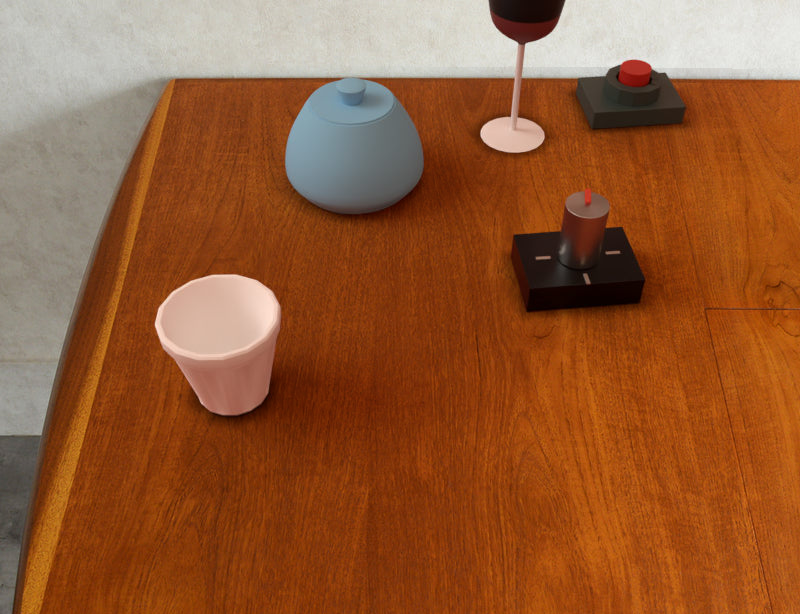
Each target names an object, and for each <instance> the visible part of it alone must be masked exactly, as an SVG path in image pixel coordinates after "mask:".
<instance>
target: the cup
mask: <svg viewBox="0 0 800 614" xmlns="http://www.w3.org/2000/svg"><path fill="white" fill-rule="evenodd" d="M155 317H156V318H155V322H154V327H155V330H156V333H157V336H158V338H159V341H160V344H161V347H162V349H163V350H164V351H165V353H167V355H169V356H170V357H171V358H172V359H173V360H174V361H175V363H176V364H177V366H178V367H179V369H180V371H181V372H182V374H183V375H184V377H185V378H186V380H187V382H188V383H189V385H190V386H191V388H192V390H193V391H194V392H195V393H194V394H196V396H197V398H198V400H199V402H200V404H201V405H202V406H203V407H204V408H205V409H207V410H208V411H209V412H210V413H212V414H216V415H219V416H222V417H238V416H242V415H244V414H245V415H246V414H249V413H251V412H252V411H254V410H255V409H257V408H258V407H259V406H261V405H262V404H263V402H264V401H265V399H266V397H267V396H268V394H269V391H270V383H271V378H272V372H273V371H272V370H273V363H274V357H275V350H276V345H277V339H278V335H279V333H280V331H281V321H282V307H281V304H280V302H279V301H278V299H277V297H276V295H275V292H274V291H273V290H271V289H270V288H269V287H267V286H266V285H265V284H263V283H262V282H260V281H259V280H257V279H254V278H250V277H247V276H243V275H240V274H235V273H234V274H210V275H207V276H204V277H200V278H196V279H193V280H190V281H188V282H186V283H185V284H182V285H181V286H180V287H177V288H176V289H175V290H173V291H171V293H170V294H169V295H168V296H167V298H166V299H165V300H164V301H163V302H162V303H161V304H160V305H159V306H158V308H157V314H156V316H155Z"/></svg>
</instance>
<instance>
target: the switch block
mask: <svg viewBox="0 0 800 614" xmlns="http://www.w3.org/2000/svg"><path fill="white" fill-rule="evenodd" d="M621 64H622V63H621ZM621 64H618V65H615V66H613V67H611V68H609V69H608V71H607V72H606V74H605V75H599V76H583V77H578V78H577V83H576V89H575V95H576V97H577V99H578V100H577V101H579V102H578V103H579V104H580V107H581V108H582V110H583V113H584V115H585V117H586V119H587V121H588V124H589V126H590V129H592V130H598V129H599V130H600V129H610V128H612V129H614V128H628V127H629V128H631V127H645V126H658V125H659V126H660V125H674V124H683V121H684V117H685V113H686V109H687V106H686V104H685V102H684V101H683V99H682V97H681V96H680V94H679V92H678V91H677V89H676V88H675V86H674V84H673V82H672V81H671V79H670V77H669V76H668V74H667V73H666V72H658V71H657V70H655V69H653V68H652V71H651V76H650V80H649V84H648V85H646V86H644V87H631V86H626V85H624V84H622V83H620V82H619V80H618V77H619V72H620V67H621Z"/></svg>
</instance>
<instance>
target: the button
mask: <svg viewBox="0 0 800 614" xmlns="http://www.w3.org/2000/svg"><path fill="white" fill-rule="evenodd" d="M652 69H653V67H652V66H651V64H650V63H648V62H647V61H646V60H645V61H644V60H642V59H627V60H625V61H623V62H622V63H621V67H620V72H619V77H618V80H619V82H620V83H622V84H624V85H626V86H631V87H644V86H646V85H648V84H649V80H650V76H651V71H652Z"/></svg>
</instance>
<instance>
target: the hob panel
mask: <svg viewBox="0 0 800 614" xmlns="http://www.w3.org/2000/svg"><path fill="white" fill-rule="evenodd" d="M560 232H561V230H557V231H541V232H527V233H514V234H513V235H512V244H511V252H510V261H511V264H512V268H513V270H514V274H515V278H516V280H517V284H518V288H519V291H520V294H521V298H522V301H523V304H524V307H525V311H526V313H533V312H544V311H546V312H547V311H557V310H559V311H560V310H570V309H582V308H594V307H595V308H596V307H608V306H621V305H632V304H640V302H641V298H642V295H643V291H644V287H645V284H646V277H645V275H644V273H643V270H642V268H641V266H640V263H639V261H638V259H637V257H636V253H635V252H634V250H633V248H632V246H631V243H630V241H629V238H628V236H627V234H626V232H625V229H624V227H623V226H611V227H610V226H609V227H606V229H605V233H604V238H603V243H602V247H601V252H600V257H599V261H598V262H597V264H596V265H594V266H593V267H591V268H588V269H573V268H570V267H567V266H565V265H564V264H562V263H561V262H560V261H559V259H558V257H557V251H558V245H559V238H560Z"/></svg>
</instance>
